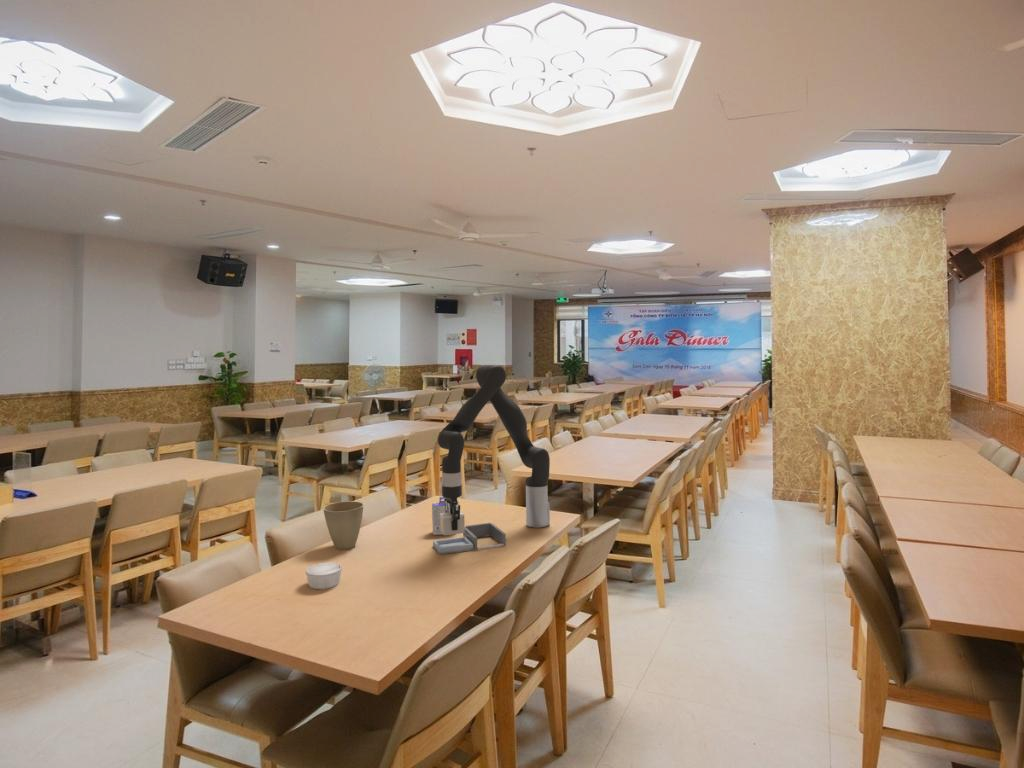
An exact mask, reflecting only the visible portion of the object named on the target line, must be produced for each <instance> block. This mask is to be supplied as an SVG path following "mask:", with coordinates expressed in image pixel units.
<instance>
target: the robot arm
mask: <svg viewBox="0 0 1024 768" xmlns="http://www.w3.org/2000/svg"><path fill="white" fill-rule="evenodd" d="M475 378H476V382H477V384H478V386H479V387H480V388H479V389H478V390H477V392H475V393H474V394H473V395H472V396H471V397H470V398H469V399H468V400H466V401H465V403H463V405H462V406H461V407H460V409H459V410H458V412H457V413H456V414H455V416H454V418H453V419H452V420H451V421H450V422H449V423H448V424H446V426H445V427H444V428H443V429H442V430H441V431H440V432H439V434H438V437H437V444H438V446H439V447H440V448H442V449H445V450H448V453H447V455H445V456H443V457H442V459H441V497H445V498H444V499H443V501H445V513H447V512H448V513H449V514H450V515H451V520H452V521H451V523H452V530H453V531H454V530H458V520H460V511H461V504H459V500H458V498H460V497H462V495H463V483H462V482H463V481H462V479H463V477H462V468H461V463H462V462H461V461H462V458H463V452H464V449H465V438H464V435H463V434H462V433H463V432H467V431H469V429H470V428H471V427H472V425H473V424H474V422H475V420H476V419H477V417H478V416H479V414H480V413H481V411H482V410H483V409H484V407H485V406H486V405H487V404H488V403H489V401H490V403H491V404H492V407H493V408H494V410H495V412H496V413H497V415H498V417H499V418H500V421H501V422H502V425H503V426H504V428H505V429H506V431H507V433H508V435H509V437H510V439H511V440H512V442H513V444H514V446H515V448H516V450H517V453H518V455H519V457H520V460H521V462H522V464H523V465H524V466H525V467H526V468H527V469H528V468H529V469H531V476H528V477H527V478H525V509H526V510H525V515H526V517H525V518H526V519H525V521H526V522H525V523H526V526H527V527H530V528H535V529H536V528H544V527H548V526H550V525H551V524H550V522H551V519H550V518H551V517H550V516H551V514H550V512H551V511H550V502H548V500H549V499H548V481H549V478H550V468H551V467H550V464H551V461H550V459H551V458H550V454H549V452H548V450H546V449H545V448H542V447H536V446H535V445H534V444H533V443H532V441H531V439H530V438H529V434H528V423H527V419H526V417H525V415H524V413H523V411H522V409H521V407H520V406H519V405H518V404H517V403H516V402H515V401H514V400H513V399H512V398H511V397H510V396H508V395H507V393H505V392H504V391H503V389H502V388H501V387H502V386H503V385H504V383H505V382H506V380H507V371H506V370H505V368H504V366H502V365H500V364H484V365H481V366H479V367H478V368H477V370H476V372H475ZM455 515H456V517H455Z"/></svg>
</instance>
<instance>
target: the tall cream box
mask: <svg viewBox="0 0 1024 768" xmlns="http://www.w3.org/2000/svg"><path fill="white" fill-rule="evenodd" d="M455 517H456V515H455ZM451 521H452V520H451V515H450V514H449V513H448V512H447V513H440V525H441V533H442V534H441V535H443V536H448V535H449V536H451V535H457V534H459V535H460V534H463V533H465V527H466V524H465V523H466V522H465V513H464V512H462V511H461V510H460V520H458V530H454V531H453V530H452V523H451Z"/></svg>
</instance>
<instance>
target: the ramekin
mask: <svg viewBox="0 0 1024 768" xmlns="http://www.w3.org/2000/svg"><path fill="white" fill-rule="evenodd" d="M342 567H343V566H342V565H341V564H340V563H338V562H332V561H329V562H319V563H315V564H312V565H310V566H308V567H307V568H306V569H305V575H306V577H307V583H308V586H309V587H310V588H311V589H313V588H314V589H313V590H327V589H331V588H333V587H335V586H337V585H338V584H339V583H340V581H341V574H342V570H343V568H342Z"/></svg>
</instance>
